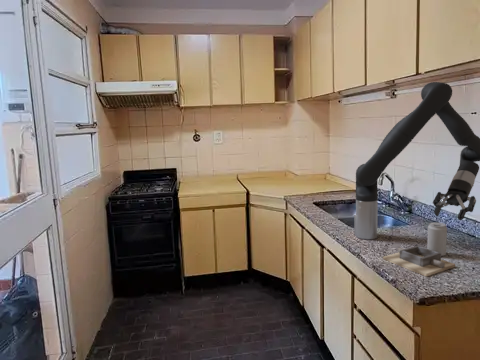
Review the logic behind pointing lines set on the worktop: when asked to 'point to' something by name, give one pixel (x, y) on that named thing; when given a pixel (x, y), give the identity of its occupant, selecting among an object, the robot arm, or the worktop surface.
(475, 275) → the worktop surface
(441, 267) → the block
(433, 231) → the beverage can
